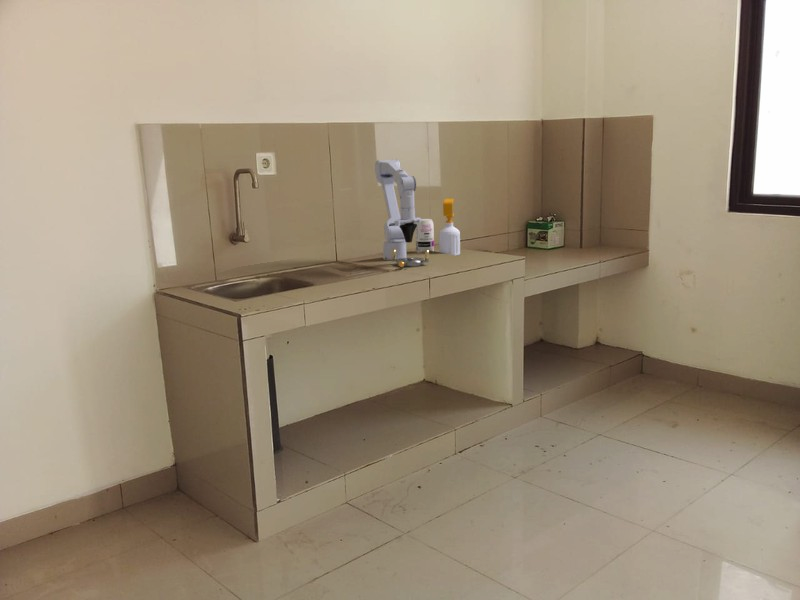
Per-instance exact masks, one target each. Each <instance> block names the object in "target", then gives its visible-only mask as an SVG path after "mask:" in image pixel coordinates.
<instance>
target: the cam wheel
mask: <svg viewBox="0 0 800 600" xmlns="http://www.w3.org/2000/svg"><path fill="white" fill-rule="evenodd" d="M391 261H392V262H395V263H396V266H397V267H400V268H417V267H422V266H424V265H425V263H429V262H430V251H429V250H425V251H424V258H422V257H415V256H414V257H413V256H409V257H407V258H400V259H396V249H392V260H391Z"/></svg>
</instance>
